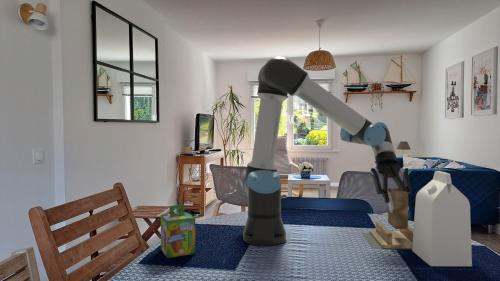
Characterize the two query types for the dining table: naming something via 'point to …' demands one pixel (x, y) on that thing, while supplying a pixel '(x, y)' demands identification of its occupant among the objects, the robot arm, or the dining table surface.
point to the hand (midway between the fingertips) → (399, 210)
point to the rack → (393, 237)
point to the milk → (442, 224)
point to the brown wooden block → (398, 209)
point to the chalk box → (177, 233)
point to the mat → (374, 243)
